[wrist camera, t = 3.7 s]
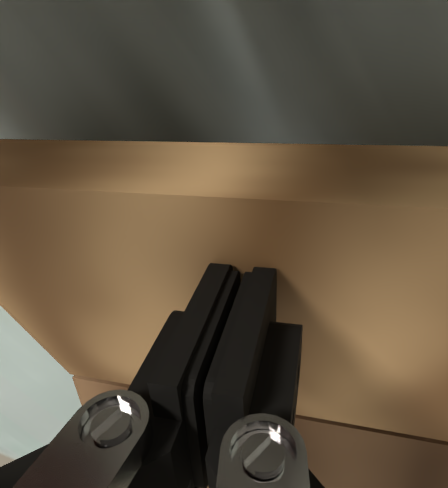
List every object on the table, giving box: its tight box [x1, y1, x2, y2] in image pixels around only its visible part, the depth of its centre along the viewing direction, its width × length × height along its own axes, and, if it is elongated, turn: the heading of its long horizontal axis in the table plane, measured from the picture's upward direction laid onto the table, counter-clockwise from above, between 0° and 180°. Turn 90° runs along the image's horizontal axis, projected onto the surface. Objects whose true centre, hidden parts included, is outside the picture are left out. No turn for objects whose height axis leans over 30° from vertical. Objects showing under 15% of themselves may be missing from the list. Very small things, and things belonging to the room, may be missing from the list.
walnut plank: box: [72, 375, 448, 488], centre depth 20 cm, size 20×10×2 cm, turn 93°
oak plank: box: [0, 139, 448, 441], centre depth 13 cm, size 20×12×2 cm, turn 93°
